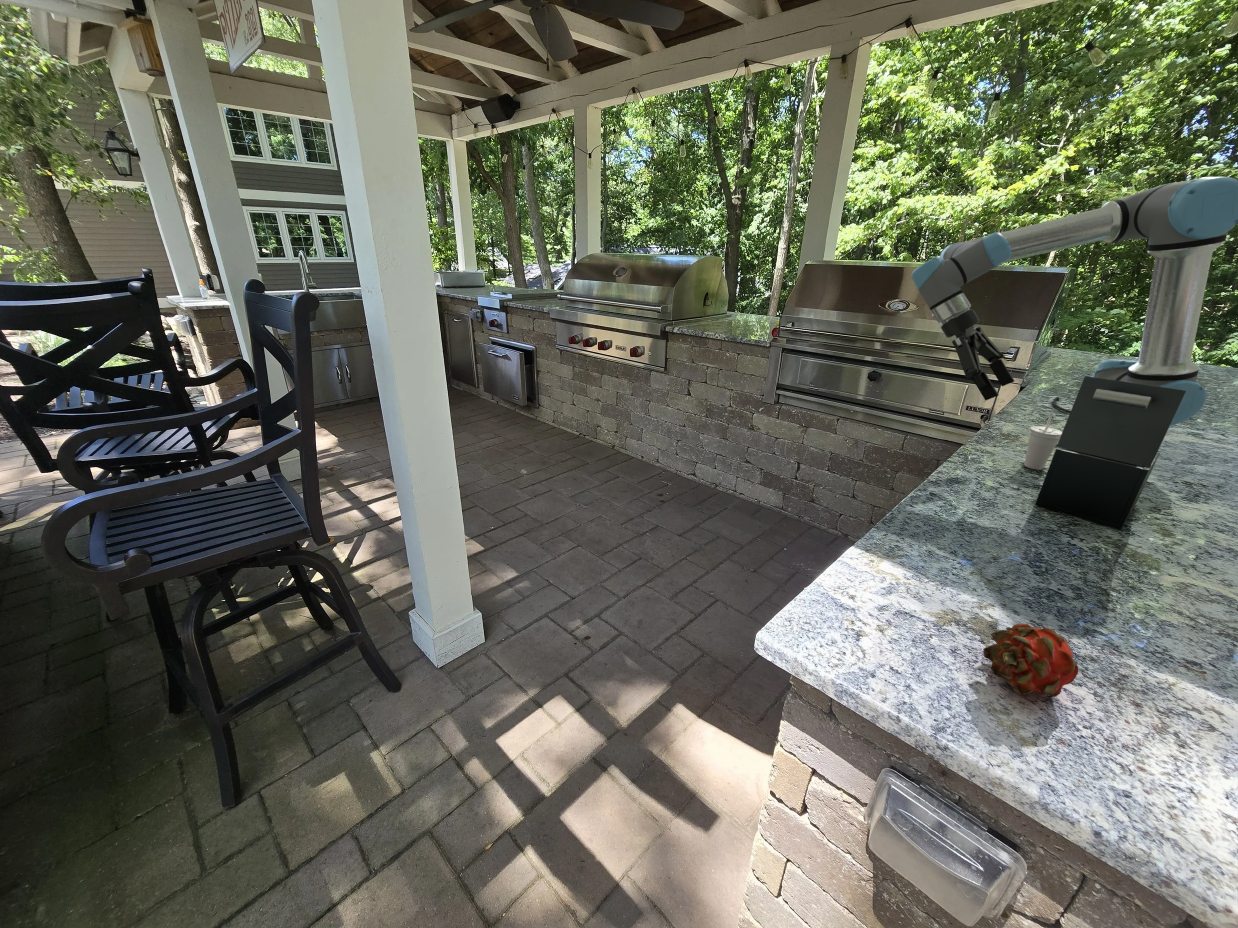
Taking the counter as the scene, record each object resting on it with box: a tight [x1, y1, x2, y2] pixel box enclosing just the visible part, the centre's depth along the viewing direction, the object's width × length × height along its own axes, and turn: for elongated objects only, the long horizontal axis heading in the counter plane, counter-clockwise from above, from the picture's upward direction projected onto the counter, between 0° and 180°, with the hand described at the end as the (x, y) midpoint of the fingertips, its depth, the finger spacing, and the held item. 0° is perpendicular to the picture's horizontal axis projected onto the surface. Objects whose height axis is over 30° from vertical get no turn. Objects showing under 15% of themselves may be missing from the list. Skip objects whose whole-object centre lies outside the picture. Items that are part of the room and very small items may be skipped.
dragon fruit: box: [983, 623, 1079, 698], centre depth 62 cm, size 8×8×12 cm
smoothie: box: [1023, 411, 1063, 471], centre depth 122 cm, size 6×6×14 cm
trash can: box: [1034, 447, 1160, 531], centre depth 103 cm, size 14×14×13 cm
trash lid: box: [1056, 375, 1186, 468], centre depth 91 cm, size 14×14×9 cm
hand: (1000, 390), depth 123 cm, fingers open, 13 cm apart
